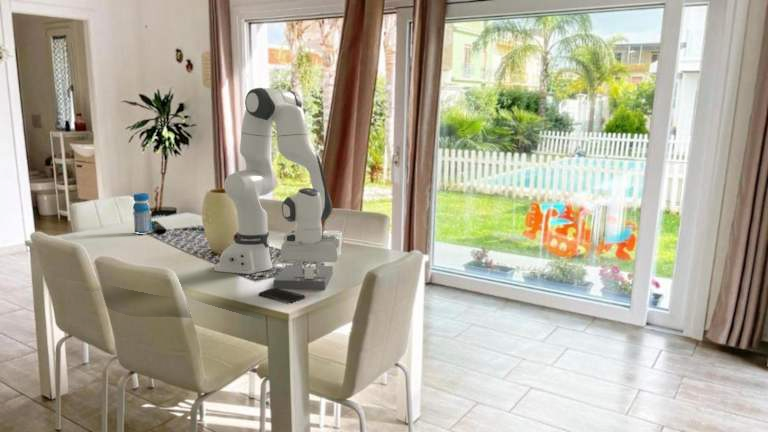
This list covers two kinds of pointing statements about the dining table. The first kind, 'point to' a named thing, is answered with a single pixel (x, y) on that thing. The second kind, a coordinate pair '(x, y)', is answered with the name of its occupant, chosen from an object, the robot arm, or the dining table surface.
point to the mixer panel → (302, 278)
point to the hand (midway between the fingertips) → (310, 273)
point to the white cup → (336, 234)
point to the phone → (281, 295)
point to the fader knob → (309, 271)
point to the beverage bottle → (142, 213)
